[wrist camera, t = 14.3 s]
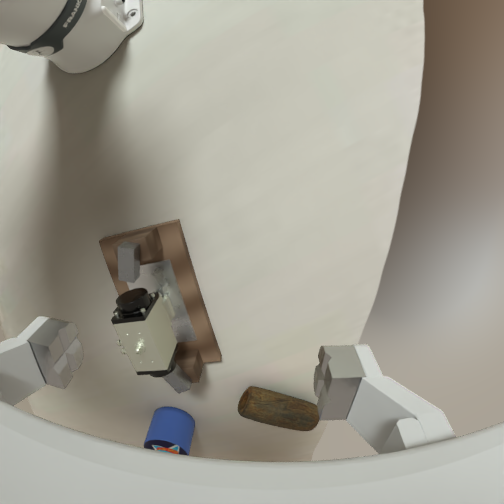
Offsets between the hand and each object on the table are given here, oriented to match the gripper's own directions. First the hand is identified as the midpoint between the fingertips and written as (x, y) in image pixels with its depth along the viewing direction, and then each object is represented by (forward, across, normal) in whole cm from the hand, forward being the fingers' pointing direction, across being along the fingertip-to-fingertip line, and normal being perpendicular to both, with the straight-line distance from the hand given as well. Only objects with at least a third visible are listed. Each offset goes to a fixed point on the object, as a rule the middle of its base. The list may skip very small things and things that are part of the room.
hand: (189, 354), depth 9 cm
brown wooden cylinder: (+34, -8, +38) cm, 52 cm away
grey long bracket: (+33, +12, +18) cm, 39 cm away
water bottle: (+34, +13, +48) cm, 60 cm away
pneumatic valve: (+32, +12, +18) cm, 39 cm away
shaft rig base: (+34, +12, +18) cm, 40 cm away
